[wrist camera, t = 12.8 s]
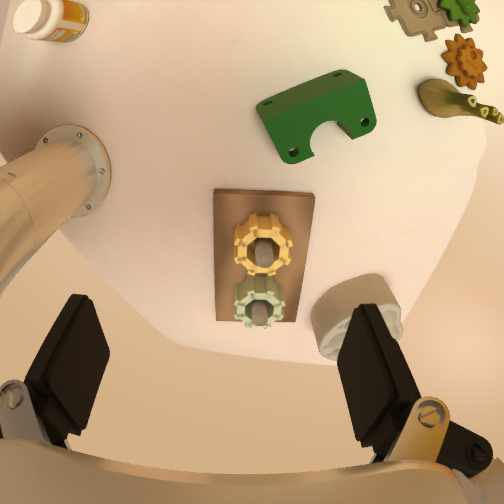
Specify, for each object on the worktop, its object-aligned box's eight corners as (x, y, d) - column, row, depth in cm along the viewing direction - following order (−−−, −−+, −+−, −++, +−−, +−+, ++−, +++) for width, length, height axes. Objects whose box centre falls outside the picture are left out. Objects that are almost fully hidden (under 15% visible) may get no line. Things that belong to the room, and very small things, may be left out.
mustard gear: (235, 211, 37) (234, 224, 34) (291, 213, 38) (295, 226, 34) (234, 259, 41) (233, 275, 38) (285, 260, 41) (289, 276, 38)
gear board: (216, 314, 48) (213, 347, 42) (214, 189, 37) (209, 212, 31) (294, 315, 48) (300, 348, 42) (312, 193, 38) (325, 217, 32)
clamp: (284, 129, 38) (270, 171, 33) (264, 90, 34) (246, 125, 29) (375, 110, 32) (382, 151, 27) (361, 65, 28) (368, 96, 23)
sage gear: (233, 310, 45) (233, 328, 42) (234, 273, 42) (233, 289, 39) (279, 311, 46) (281, 328, 42) (284, 274, 42) (287, 290, 39)
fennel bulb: (407, 91, 31) (465, 103, 21) (428, 67, 29) (489, 73, 19) (433, 123, 33) (492, 147, 22) (453, 100, 31) (514, 117, 20)
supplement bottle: (68, -1, 23) (24, -13, 14) (97, 10, 24) (56, -4, 16) (47, 35, 25) (0, 33, 17) (75, 47, 27) (30, 45, 18)
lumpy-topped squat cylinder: (390, 312, 49) (408, 349, 41) (319, 339, 51) (329, 379, 44) (381, 266, 44) (403, 303, 36) (301, 297, 46) (311, 339, 39)
